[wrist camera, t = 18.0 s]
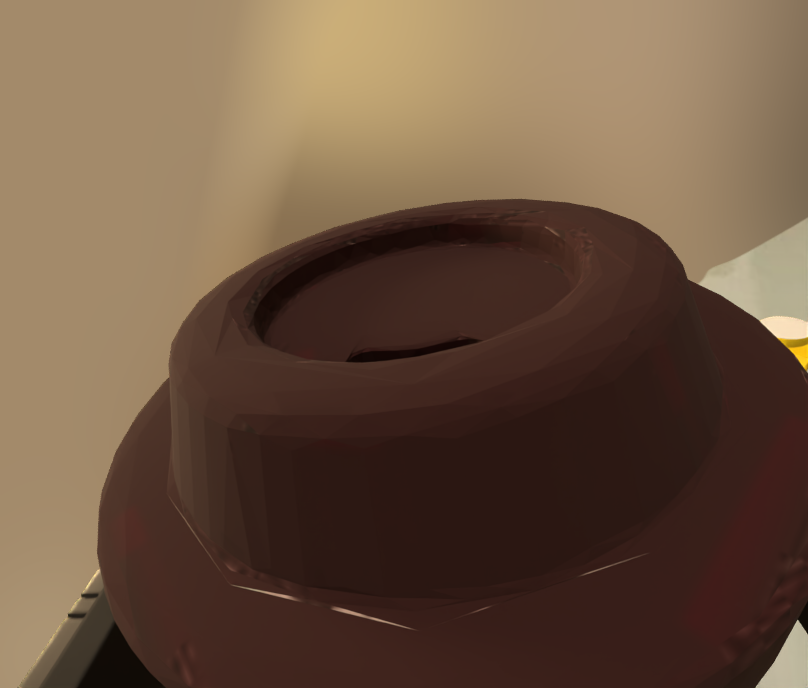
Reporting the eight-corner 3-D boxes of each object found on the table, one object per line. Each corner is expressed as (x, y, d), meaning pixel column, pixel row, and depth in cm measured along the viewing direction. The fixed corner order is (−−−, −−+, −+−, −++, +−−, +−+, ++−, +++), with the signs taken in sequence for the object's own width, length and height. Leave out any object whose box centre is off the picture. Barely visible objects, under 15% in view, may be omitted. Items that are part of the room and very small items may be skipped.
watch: (770, 373, 32) (793, 302, 29) (814, 392, 30) (844, 317, 27) (713, 405, 30) (731, 333, 27) (755, 427, 28) (779, 351, 25)
